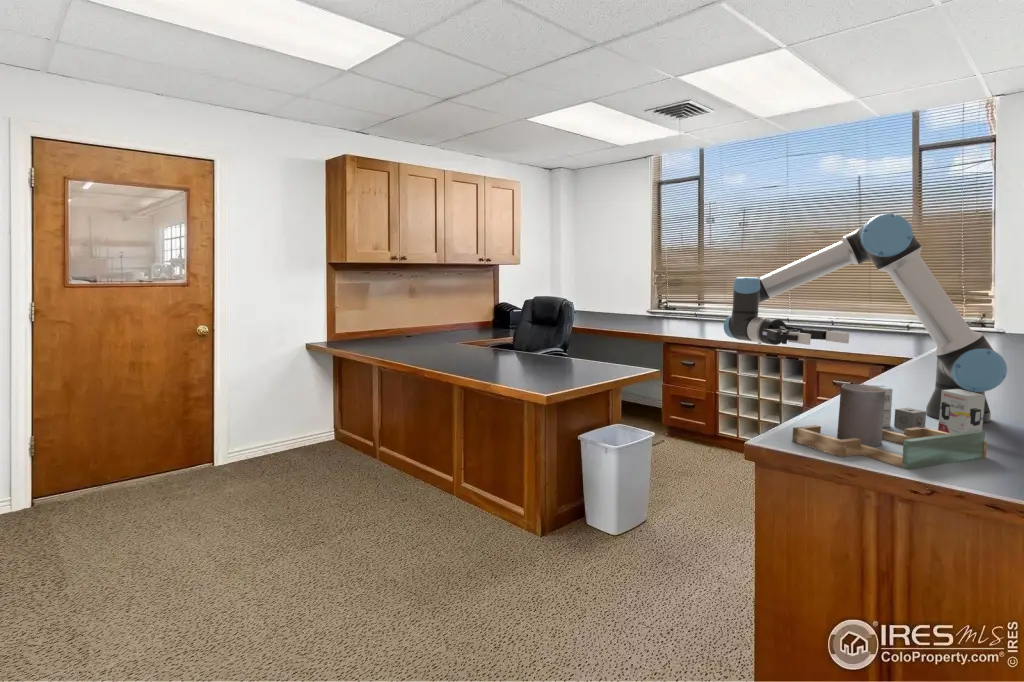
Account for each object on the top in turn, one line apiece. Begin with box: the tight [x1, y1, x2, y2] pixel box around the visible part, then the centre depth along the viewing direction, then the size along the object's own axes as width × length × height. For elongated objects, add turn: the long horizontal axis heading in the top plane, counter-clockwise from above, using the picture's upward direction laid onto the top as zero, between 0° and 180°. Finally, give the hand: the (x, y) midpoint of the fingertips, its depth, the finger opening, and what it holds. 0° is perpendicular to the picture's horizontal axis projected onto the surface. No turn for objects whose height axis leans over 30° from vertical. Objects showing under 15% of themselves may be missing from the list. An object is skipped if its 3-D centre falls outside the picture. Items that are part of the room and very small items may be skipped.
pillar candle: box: [836, 382, 886, 448], centre depth 147 cm, size 10×10×15 cm
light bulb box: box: [842, 384, 893, 428], centre depth 166 cm, size 11×7×11 cm, turn 84°
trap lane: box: [791, 424, 988, 470], centre depth 142 cm, size 26×31×6 cm
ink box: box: [937, 389, 986, 434], centre depth 152 cm, size 9×5×12 cm, turn 5°
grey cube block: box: [893, 407, 927, 430], centre depth 162 cm, size 5×5×5 cm
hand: (829, 338), depth 156 cm, fingers open, 13 cm apart
